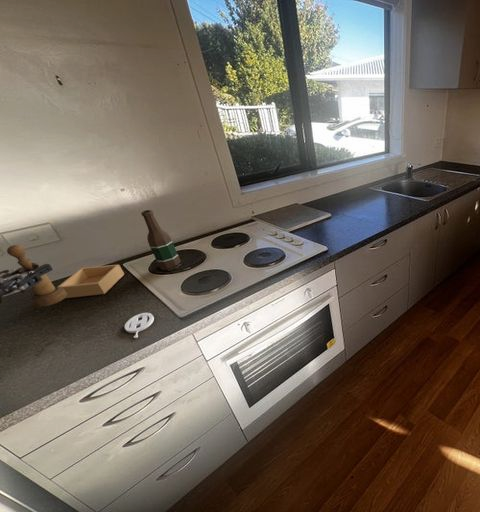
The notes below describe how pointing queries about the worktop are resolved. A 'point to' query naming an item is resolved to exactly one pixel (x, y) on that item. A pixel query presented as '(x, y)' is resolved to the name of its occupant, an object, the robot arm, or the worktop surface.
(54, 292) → the mortar and pestle
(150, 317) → the pendant
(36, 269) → the robot arm
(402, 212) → the worktop surface
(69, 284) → the wooden tray
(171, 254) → the beer bottle
